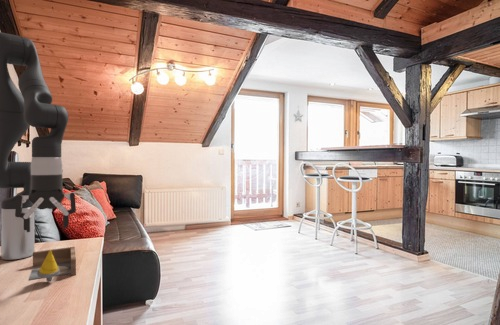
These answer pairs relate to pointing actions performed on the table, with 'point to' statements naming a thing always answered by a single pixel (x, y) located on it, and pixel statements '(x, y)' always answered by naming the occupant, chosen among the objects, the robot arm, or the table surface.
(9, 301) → the table surface
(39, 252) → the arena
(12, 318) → the table surface
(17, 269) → the table surface
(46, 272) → the drill bit
